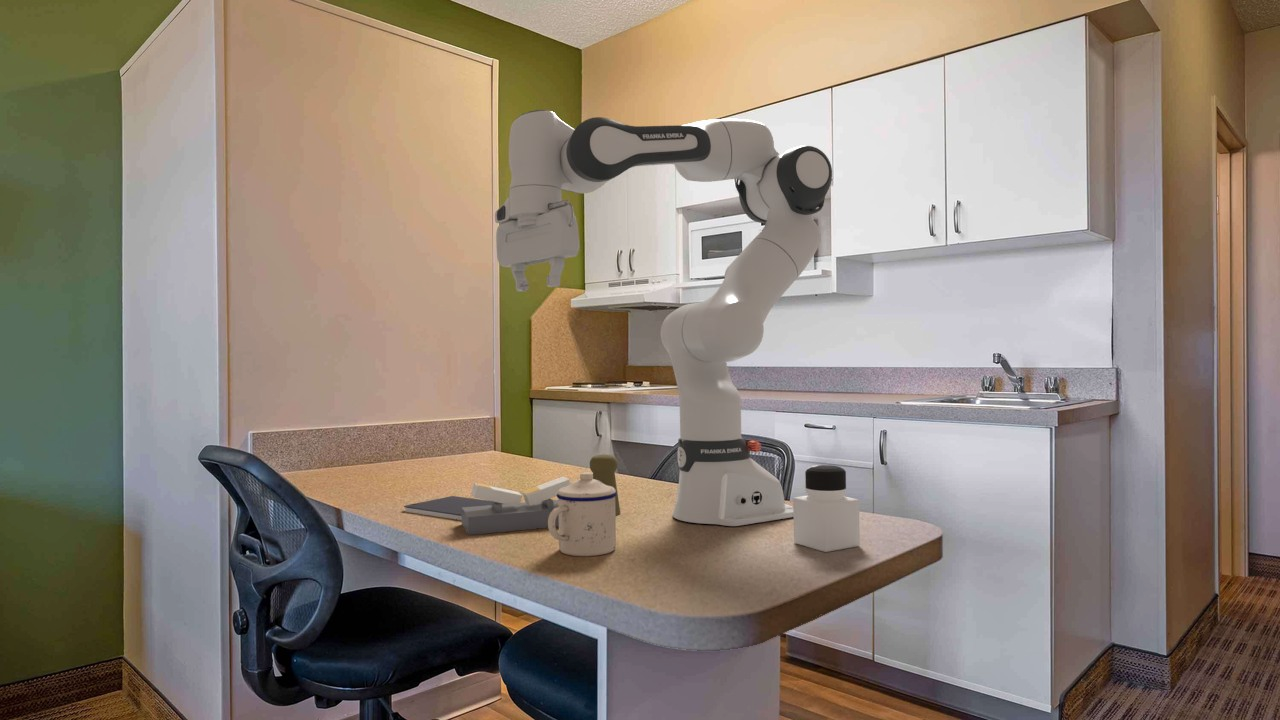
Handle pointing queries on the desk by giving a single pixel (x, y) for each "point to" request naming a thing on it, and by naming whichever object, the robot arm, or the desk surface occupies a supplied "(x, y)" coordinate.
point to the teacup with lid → (585, 518)
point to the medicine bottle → (826, 511)
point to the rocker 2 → (544, 491)
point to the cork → (606, 473)
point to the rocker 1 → (496, 494)
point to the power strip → (507, 517)
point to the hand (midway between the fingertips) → (537, 289)
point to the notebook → (445, 506)
